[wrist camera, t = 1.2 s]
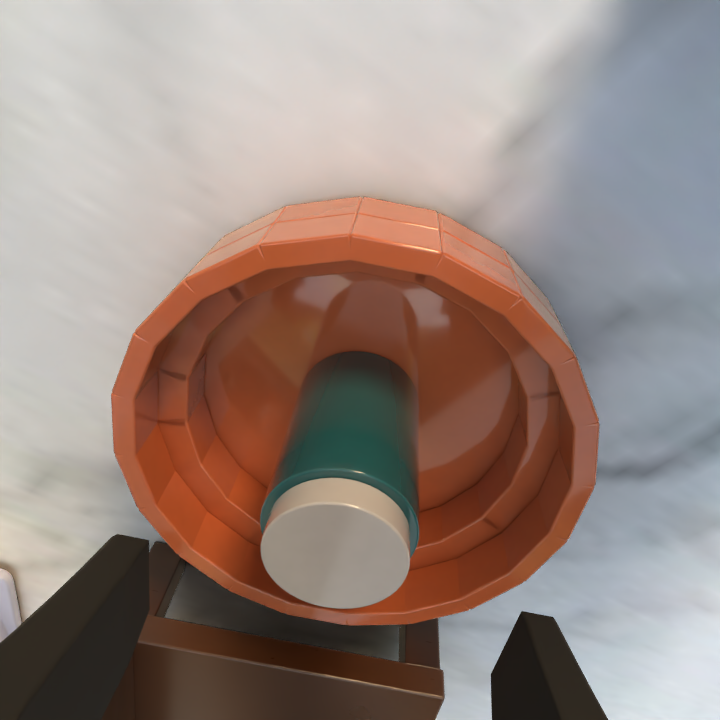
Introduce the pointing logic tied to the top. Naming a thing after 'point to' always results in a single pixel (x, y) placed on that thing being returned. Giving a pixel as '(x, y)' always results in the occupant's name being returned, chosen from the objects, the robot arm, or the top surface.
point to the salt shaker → (345, 485)
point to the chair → (266, 670)
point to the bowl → (375, 335)
